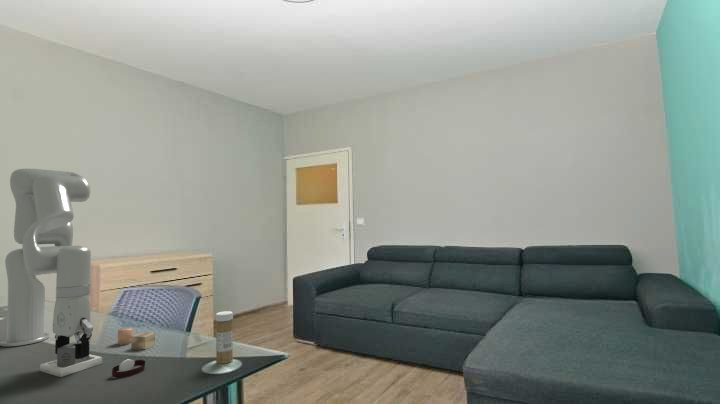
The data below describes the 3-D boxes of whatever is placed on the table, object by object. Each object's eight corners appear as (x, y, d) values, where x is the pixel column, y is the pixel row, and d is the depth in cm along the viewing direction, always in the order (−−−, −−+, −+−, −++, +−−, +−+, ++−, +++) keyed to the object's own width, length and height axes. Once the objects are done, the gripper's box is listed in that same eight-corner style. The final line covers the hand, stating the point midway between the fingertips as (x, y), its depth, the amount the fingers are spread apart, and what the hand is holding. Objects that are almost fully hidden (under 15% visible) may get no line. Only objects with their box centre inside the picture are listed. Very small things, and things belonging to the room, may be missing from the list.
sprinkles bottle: (231, 357, 107) (231, 309, 108) (234, 362, 103) (233, 313, 104) (214, 360, 105) (214, 311, 106) (216, 365, 101) (216, 315, 102)
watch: (141, 367, 102) (141, 353, 102) (148, 371, 99) (148, 357, 99) (108, 376, 96) (109, 362, 96) (115, 381, 93) (115, 366, 93)
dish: (40, 371, 100) (40, 364, 100) (81, 358, 109) (81, 352, 109) (60, 377, 96) (60, 370, 96) (101, 363, 105) (102, 357, 105)
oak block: (131, 349, 117) (131, 336, 117) (141, 345, 121) (141, 332, 121) (145, 350, 116) (145, 336, 116) (154, 345, 120) (154, 333, 120)
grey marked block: (89, 360, 105) (89, 342, 106) (75, 367, 100) (75, 348, 101) (71, 360, 105) (72, 342, 106) (56, 367, 100) (57, 348, 101)
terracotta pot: (114, 344, 122) (114, 330, 123) (127, 340, 126) (128, 326, 127) (122, 345, 120) (122, 331, 121) (136, 341, 124) (136, 328, 125)
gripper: (40, 292, 104) (39, 355, 103) (75, 296, 96) (74, 364, 95) (71, 288, 111) (70, 346, 110) (106, 291, 103) (105, 354, 102)
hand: (72, 355), depth 103 cm, fingers open, 9 cm apart
